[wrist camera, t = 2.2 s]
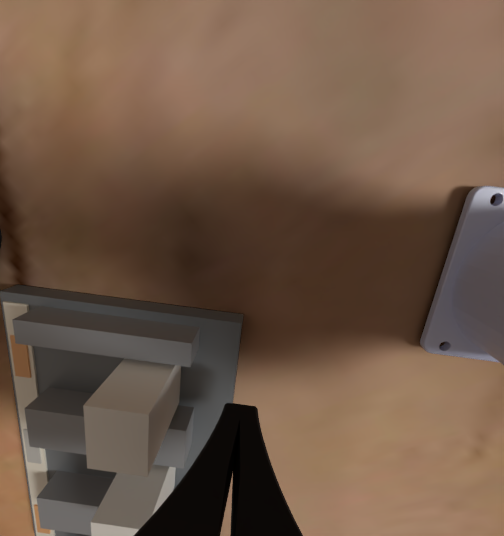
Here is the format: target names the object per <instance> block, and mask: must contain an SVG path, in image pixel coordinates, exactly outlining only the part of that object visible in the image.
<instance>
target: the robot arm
mask: <svg viewBox="0 0 504 536" xmlns="http://www.w3.org/2000/svg"><path fill="white" fill-rule="evenodd" d="M493 195H495V197H496V198H495V202H494V203H493V204H492V205H491V203H490V199H491V197H492V196H493ZM442 342H445V343H444V345H442V346H439V345H440V344H441V343H442ZM420 344H421V347H422V348H424V349H425V350H426V351H427V352H429V353H434V354H441V355H449V356H456V357H464V358H471V359H479V360H486V361H494V362H500V363H502V364H503V365H504V188H501V187H493V186H478V187H475V188H473V189H472V190H471V191H470V192H469V193H468V195H467V197H466V200H465V204H464V207H463V210H462V213H461V216H460V219H459V222H458V225H457V228H456V231H455V234H454V238H453V241H452V244H451V247H450V250H449V253H448V256H447V259H446V262H445V265H444V268H443V271H442V275H441V278H440V281H439V284H438V287H437V290H436V293H435V296H434V299H433V302H432V305H431V309H430V312H429V315H428V318H427V321H426V324H425V327H424V330H423V333H422V336H421V339H420ZM232 473H233V487H232V513H231V536H303V535H302V533H301V531H300V529H299V527H298V525H297V524H296V522H295V520H294V517H293V515H292V513H291V511H290V509H289V507H288V505H287V502H286V500H285V498H284V496H283V493H282V491H281V489H280V486H279V484H278V481H277V479H276V476H275V473H274V471H273V468H272V465H271V462H270V459H269V456H268V453H267V450H266V447H265V443H264V440H263V436H262V432H261V428H260V423H259V418H258V409H257V408H256V407H255V406H248V405H241V404H234V403H226V404H225V405H224V408H223V411H222V414H221V416H220V418H219V420H218V422H217V424H216V426H215V428H214V430H213V432H212V434H211V435H210V437H209V439H208V441H207V443H206V444H205V446H204V448H203V449H202V451H201V452H200V454H199V455H198V457H197V458H196V460H195V461H194V463H193V464H192V466H191V467H190V469H189V470H188V472H187V473H186V474H185V476H184V477H183V479H182V480H181V481H180V482H179V484H178V485H177V486H176V488H175V489H174V490H173V491H172V493H171V494H170V495H169V496H168V498H167V499H166V500H165V501H164V503H163V504H162V505H161V506H160V507H159V508H158V510H157V511H156V512H155V513H154V514H153V515H152V516H151V517H150V519H149V520H148V521H147V522H146V523H145V524H144V525H143V526H142V527H141V528H140V529H139V530H138V531H137V533H136V534H135V535H134V536H220V532H221V527H222V522H223V517H224V512H225V507H226V502H227V497H228V493H229V488H230V483H231V478H232Z"/></svg>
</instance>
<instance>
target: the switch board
mask: <svg viewBox="0 0 504 536" xmlns="http://www.w3.org/2000/svg"><path fill="white" fill-rule="evenodd" d="M0 298H1V305H2V312H3V319H4V326H5V333H6V340H7V347H8V353H9V360H10V367H11V374H12V381H13V388H14V395H15V402H16V408H17V415H18V422H19V429H20V436H21V443H22V450H23V457H24V463H25V470H26V477H27V484H28V491H29V498H30V505H31V512H32V518H33V525H34V532H35V536H91V521H92V519H93V517H94V515H95V513H96V511H97V509H98V508H99V506H100V504H101V502H102V500H103V498H104V496H105V494H106V493H107V491H108V489H109V487H110V485H111V483H112V481H113V480H114V478H115V476H116V474H117V473H116V472H109V471H102V470H95V469H88V468H87V457H86V441H85V425H84V410H83V405H84V404H85V403H86V402H87V401H88V400H89V398H90V397H91V396H92V395H93V394H94V393H95V391H96V390H97V389H98V388H99V387H100V386H101V385H102V383H103V382H104V381H105V380H106V379H107V378H108V377H109V375H110V374H111V373H112V372H113V371H114V370H115V369H116V367H117V366H118V365H119V364H120V363H121V362H122V361H123V359H124V358H126V359H133V360H141V361H148V362H155V363H163V364H170V365H178V366H181V379H180V397H179V404H178V406H177V409H176V411H175V413H174V416H173V418H172V420H171V423H170V425H169V428H168V430H167V432H166V435H165V437H164V439H163V442H162V444H161V447H160V449H159V451H158V454H157V456H156V458H155V461H154V463H153V464H154V465H161V466H168V467H175V468H176V471H175V486H174V489H175V488H176V486H177V485H178V484H179V482H180V481H181V480H182V479H183V477H184V476H185V474H186V473H187V472H188V470H189V469H190V467H191V466H192V464H193V463H194V461H195V460H196V458H197V457H198V455H199V454H200V452H201V451H202V449H203V448H204V446H205V444H206V443H207V441H208V439H209V437H210V435H211V434H212V432H213V430H214V428H215V426H216V424H217V422H218V420H219V418H220V416H221V414H222V411H223V408H224V405H225V404H226V403H233V398H234V389H235V381H236V373H237V364H238V356H239V348H240V339H241V331H242V323H243V314H237V313H230V312H222V311H214V310H207V309H199V308H192V307H184V306H176V305H169V304H161V303H154V302H146V301H138V300H131V299H123V298H116V297H108V296H100V295H93V294H85V293H78V292H70V291H62V290H55V289H47V288H40V287H32V286H24V285H15V286H13V287H10V288H7V289H4V290H1V291H0ZM174 489H173V490H174Z"/></svg>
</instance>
